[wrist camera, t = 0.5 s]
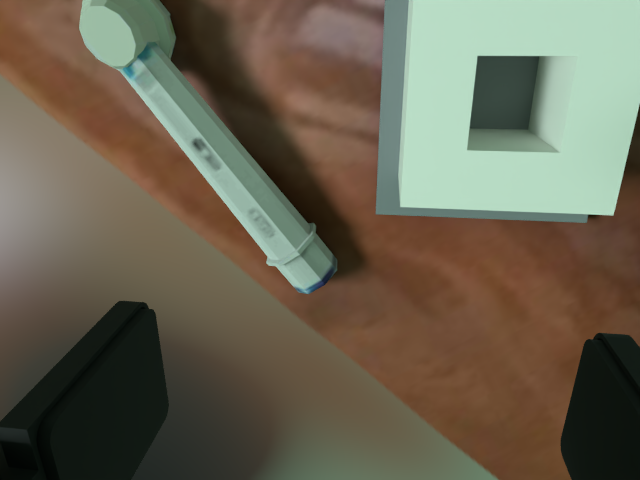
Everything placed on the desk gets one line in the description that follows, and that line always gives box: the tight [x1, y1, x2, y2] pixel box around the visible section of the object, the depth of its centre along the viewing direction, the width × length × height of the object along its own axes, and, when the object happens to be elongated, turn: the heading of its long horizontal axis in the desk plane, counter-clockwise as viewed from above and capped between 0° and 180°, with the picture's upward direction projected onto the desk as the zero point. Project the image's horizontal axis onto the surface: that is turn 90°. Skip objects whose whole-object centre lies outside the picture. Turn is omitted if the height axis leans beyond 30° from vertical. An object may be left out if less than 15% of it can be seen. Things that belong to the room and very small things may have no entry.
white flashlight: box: [79, 0, 337, 294], centre depth 36 cm, size 5×7×25 cm
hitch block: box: [376, 0, 640, 223], centre depth 31 cm, size 18×15×8 cm
